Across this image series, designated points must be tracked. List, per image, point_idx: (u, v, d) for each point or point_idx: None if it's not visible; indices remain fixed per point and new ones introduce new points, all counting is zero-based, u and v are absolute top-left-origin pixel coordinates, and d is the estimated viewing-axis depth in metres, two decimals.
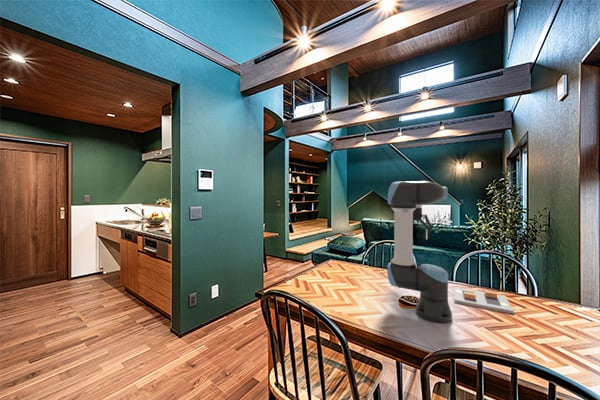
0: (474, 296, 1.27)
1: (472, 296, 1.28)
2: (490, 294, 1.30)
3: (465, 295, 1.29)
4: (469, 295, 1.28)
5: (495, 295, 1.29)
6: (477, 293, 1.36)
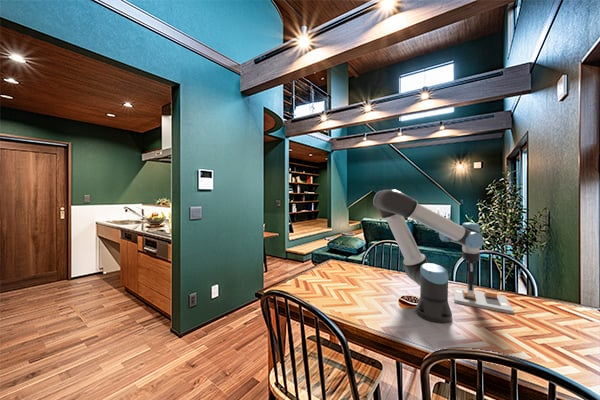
0: (474, 295, 1.29)
1: None
2: (490, 294, 1.30)
3: (465, 294, 1.31)
4: None
5: (495, 295, 1.29)
6: (477, 293, 1.36)
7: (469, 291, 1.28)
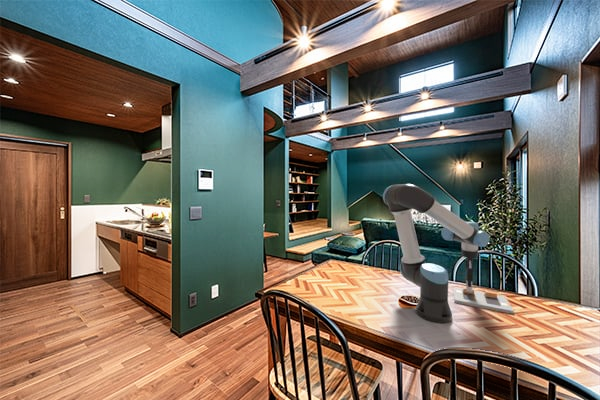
0: (473, 291, 1.34)
1: None
2: (490, 294, 1.30)
3: (464, 290, 1.36)
4: None
5: (495, 295, 1.29)
6: (477, 293, 1.36)
7: (468, 287, 1.34)
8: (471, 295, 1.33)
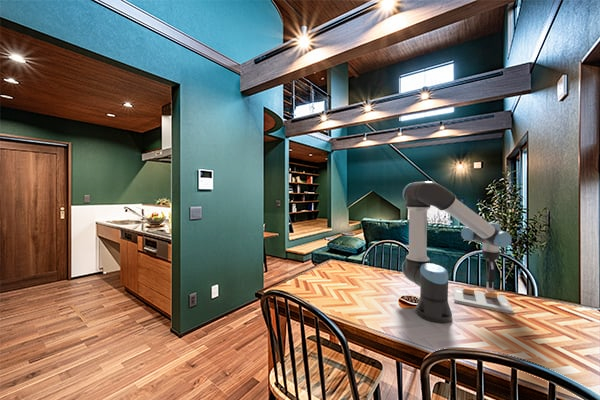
0: (473, 291, 1.34)
1: (471, 291, 1.34)
2: (490, 294, 1.30)
3: (464, 290, 1.36)
4: (468, 290, 1.35)
5: (495, 295, 1.29)
6: (477, 293, 1.36)
7: (488, 288, 1.33)
8: (471, 295, 1.33)
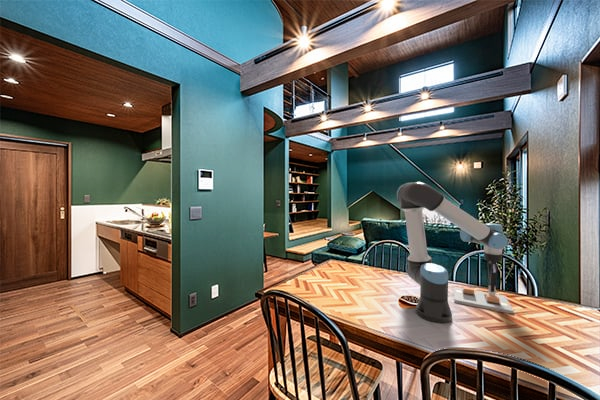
0: (473, 291, 1.34)
1: (471, 291, 1.34)
2: (492, 299, 1.24)
3: (464, 290, 1.36)
4: (468, 290, 1.35)
5: (497, 300, 1.23)
6: (477, 293, 1.36)
7: (490, 292, 1.27)
8: (471, 295, 1.33)
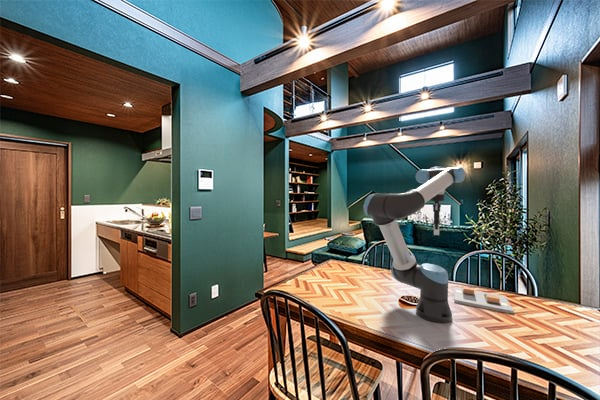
0: (473, 291, 1.34)
1: (471, 291, 1.34)
2: (492, 299, 1.24)
3: (464, 290, 1.36)
4: (468, 290, 1.35)
5: (497, 300, 1.23)
6: (477, 293, 1.36)
7: (435, 230, 1.38)
8: (471, 295, 1.33)
